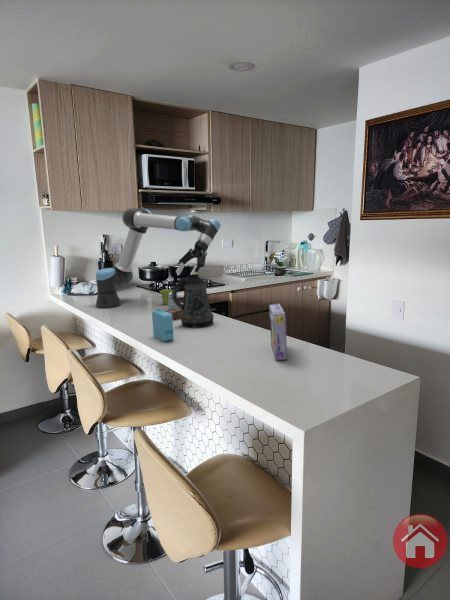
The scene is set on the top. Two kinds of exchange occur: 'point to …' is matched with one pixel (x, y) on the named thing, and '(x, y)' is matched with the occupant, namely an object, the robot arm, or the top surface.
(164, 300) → the plant pot
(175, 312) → the walnut block
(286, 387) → the top surface
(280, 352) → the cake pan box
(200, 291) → the beer stein
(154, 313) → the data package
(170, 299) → the medicine box
